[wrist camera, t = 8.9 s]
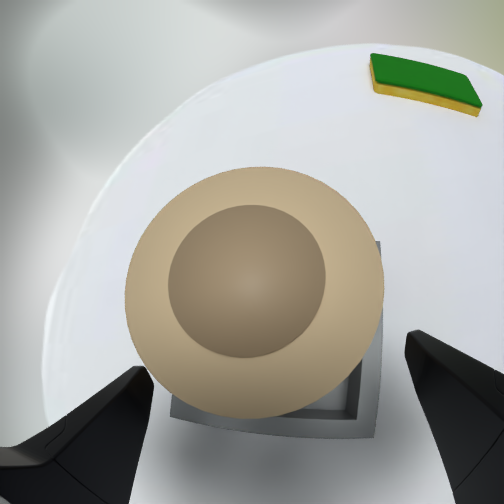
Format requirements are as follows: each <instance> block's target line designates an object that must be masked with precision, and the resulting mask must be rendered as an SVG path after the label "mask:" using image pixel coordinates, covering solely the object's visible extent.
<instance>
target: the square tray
mask: <svg viewBox="0 0 504 504" xmlns="http://www.w3.org/2000/svg"><path fill="white" fill-rule="evenodd" d="M375 242H376V245H377V248H378V250H379V253H380V257H381V248H380V241H375ZM382 337H383V308H382V312H381V316H380V320H379V324H378V327H377V330H376V332H375V335H374V337H373V339H372V342H371V344H370V346H369V348H368V349H367V351H366V353H365V354H364V356H363V358H362V359H361V361H360V362H359V363H358V365H357V366H356V367H355V368H354V369H353V371H352V372H351V373H350V374H349V375H348V377H347V378H345V379H344V380H343V381H342V382H341V383H340V384H339V385H338V386H337V387H336V388H334V389H333V390H332V391H330V392H329V393H328V394H326V395H325V396H323V397H322V398H320V399H319V400H317V401H315V402H313V403H311V404H309V405H307V406H305V407H303V408H301V409H298V410H296V411H292V412H289V413H286V414H283V415H279V416H274V417H267V418H260V419H237V418H230V417H224V416H219V415H215V414H212V413H209V412H205V411H202V410H200V409H198V408H196V407H193V406H191V405H189V404H187V403H185V402H184V401H182V400H181V399H179V398H178V397H176V396H175V395H173V394H172V401H171V410H170V417H173V418H177V419H181V420H185V421H190V422H194V423H199V424H203V425H208V426H214V427H219V428H224V429H230V430H237V431H243V432H250V433H258V434H266V435H276V436H287V437H301V438H325V439H355V438H374V432H375V425H376V418H377V409H378V400H379V389H380V377H381V361H382Z"/></svg>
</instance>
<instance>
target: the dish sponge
mask: <svg viewBox="0 0 504 504" xmlns="http://www.w3.org/2000/svg"><path fill="white" fill-rule="evenodd" d="M370 56H371V58H370V70H371V75H372V81H373V87H374V91H375V92H376V93H378V94H385V95H390V96H396V97H401V98H406V99H411V100H416V101H420V102H425V103H429V104H433V105H437V106H441V107H445V108H449V109H452V110H456V111H459V112H462V113H466V114H469V115H472V116H475V117H477V116H478V114H479V112H480V110H481V107H482V103H481V101H480V99H479V97H478V95H477V93H476V92H475V90H474V88H473V86H472V84H471V83H470V81H469V79H468V78H467V76H465V75H464V74H461V73H457V72H454V71H451V70H448V69H444V68H441V67H437V66H433V65H430V64H426V63H422V62H417V61H413V60H408V59H404V58H399V57H393V56H388V55H382V54H376V53H372V54H371V55H370Z"/></svg>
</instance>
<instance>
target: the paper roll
mask: <svg viewBox="0 0 504 504" xmlns="http://www.w3.org/2000/svg"><path fill="white" fill-rule="evenodd" d="M383 298H384V273H383V267H382V262H381V257H380V253H379V250H378V248H377V245H376V242H375V239H374V237H373V235H372V233H371V231H370V229H369V227H368V226H367V224H366V222H365V221H364V220H363V218H362V217H361V215H360V214H359V213H358V211H357V210H356V209H355V208H354V207H353V206H352V205H351V204H350V203H349V202H348V201H347V200H346V199H345V198H344V197H343V196H342V195H340V194H339V193H338V192H337V191H335V190H334V189H332V188H331V187H329V186H328V185H326V184H324V183H323V182H321V181H319V180H317V179H314V178H312V177H310V176H308V175H305V174H302V173H299V172H296V171H292V170H287V169H282V168H273V167H248V168H241V169H234V170H230V171H226V172H222V173H219V174H216V175H214V176H211V177H208V178H206V179H204V180H202V181H200V182H198V183H196V184H194V185H192V186H191V187H189V188H187V189H186V190H184V191H183V192H181V193H180V194H179V195H177V196H176V197H175V198H174V199H172V200H171V201H170V202H169V203H168V204H167V205H166V206H165V207H164V208H163V209H162V210H161V211H160V212H159V213H158V214H157V215H156V216H155V218H154V219H153V220H152V221H151V223H150V224H149V225H148V227H147V228H146V230H145V231H144V233H143V235H142V236H141V238H140V240H139V242H138V244H137V246H136V248H135V251H134V253H133V256H132V259H131V262H130V265H129V269H128V274H127V278H126V287H125V312H126V318H127V325H128V328H129V332H130V335H131V339H132V341H133V343H134V346H135V348H136V350H137V352H138V355H139V356H140V358H141V359H142V361H143V363H144V364H145V366H146V368H147V369H148V370H149V371H150V373H151V374H152V375H153V376H154V377H155V379H156V380H157V381H158V382H159V383H160V384H161V385H162V386H164V387H165V388H166V389H167V390H168V391H169V392H170V393H172V394H173V395H175V396H176V397H178V398H179V399H181V400H182V401H184V402H185V403H187V404H189V405H191V406H193V407H196V408H198V409H200V410H202V411H205V412H209V413H212V414H215V415H219V416H224V417H230V418H237V419H260V418H267V417H274V416H279V415H283V414H286V413H289V412H292V411H296V410H298V409H301V408H303V407H305V406H307V405H309V404H311V403H313V402H315V401H317V400H319V399H320V398H322V397H323V396H325V395H326V394H328V393H329V392H330V391H332V390H333V389H334V388H336V387H337V386H338V385H339V384H340V383H341V382H342V381H343V380H344V379H345V378H347V377H348V375H349V374H350V373H351V372H352V371H353V369H354V368H355V367H356V366H357V365H358V363H359V362H360V361H361V359H362V358H363V356H364V354H365V353H366V351H367V349H368V348H369V346H370V344H371V342H372V339H373V337H374V335H375V332H376V330H377V327H378V324H379V320H380V316H381V312H382V308H383Z"/></svg>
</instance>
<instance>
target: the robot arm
mask: <svg viewBox="0 0 504 504" xmlns="http://www.w3.org/2000/svg"><path fill="white" fill-rule="evenodd" d="M405 358H406V361H407V365H408V368H409V371H410V374H411V378H412V381H413V384H414V388H415V391H416V394H417V396H418V399H419V401H420V404H421V406H422V409H423V411H424V413H425V416H426V418H427V421H428V423H429V426H430V428H431V431H432V434H433V436H434V439H435V442H436V444H437V447H438V450H439V453H440V455H441V458H442V461H443V464H444V467H445V470H446V473H447V476H448V479H449V482H450V486H451V489H452V492H453V496H454V499H455V503H456V504H504V374H503V373H501V372H499V371H497V370H495V371H494V369H493V368H491V367H489V366H487V365H485V364H484V363H482V362H480V361H478V360H476V359H474V358H472V357H470V356H468V355H467V354H465V353H463V352H461V351H459V350H457V349H455V348H453V347H451V346H450V345H448V344H446V343H444V342H442V341H440V340H438V339H436V338H434V337H432V336H430V335H429V334H427V333H425V332H423V331H421V330H414V331H411V332H408V334H407V337H406V345H405ZM153 391H154V383H153V381H152V379H151V377H150V375H149V373H148V371H147V369H146V368H145V367H144V366H133V367H132V368H130V369H129V370H127V371H126V372H125V373H123V374H122V375H121V376H119V377H118V378H117V379H115V380H114V381H113V382H111V383H110V384H108V385H107V386H106V387H104V388H103V389H102V390H100V391H99V392H98V393H96V394H95V395H93V396H92V397H91V398H89V399H88V400H86V401H85V402H84V403H82V404H81V405H80V406H78V407H77V408H75V409H74V410H73V411H71V412H70V413H68V414H67V416H64V417H63V418H61V419H60V420H59V421H57V422H56V423H54V424H53V425H51V426H50V427H48V428H46V429H45V430H43V431H41V432H40V433H38V434H36V435H35V436H33V437H31V438H30V439H28V440H26V441H24V442H23V443H21V444H19V445H17V446H13V447H0V504H129V500H130V496H131V491H132V487H133V482H134V478H135V474H136V470H137V466H138V461H139V457H140V453H141V449H142V446H143V442H144V438H145V434H146V430H147V426H148V422H149V417H150V410H151V403H152V397H153Z"/></svg>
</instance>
